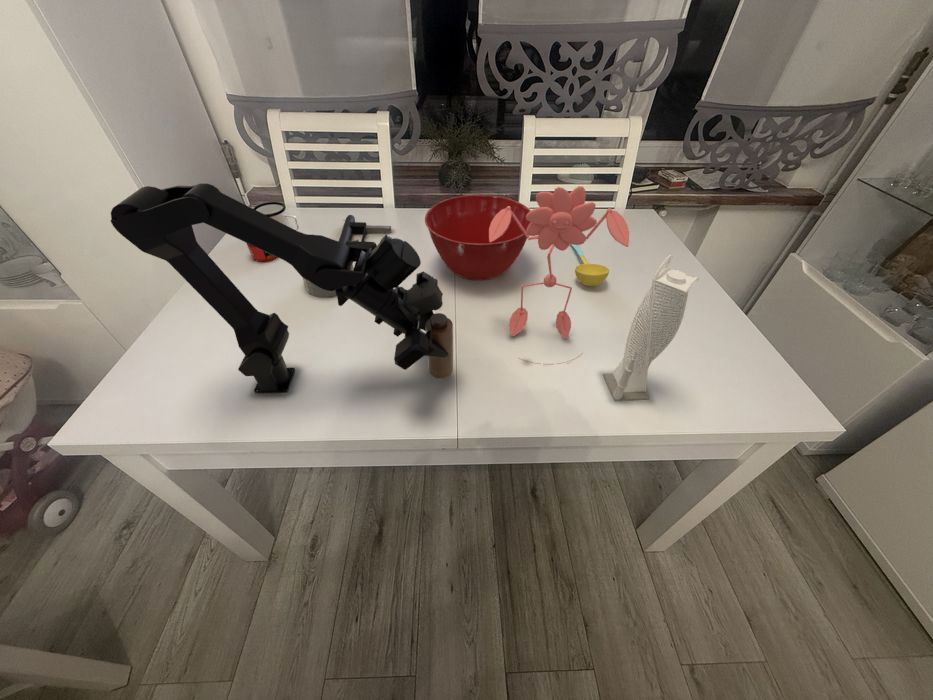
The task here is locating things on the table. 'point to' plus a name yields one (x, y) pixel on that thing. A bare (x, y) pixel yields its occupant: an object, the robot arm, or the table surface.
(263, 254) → the canned food
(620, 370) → the skyscraper
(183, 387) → the table surface
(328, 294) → the tin
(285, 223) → the mug
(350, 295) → the robot arm
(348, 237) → the door handle
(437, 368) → the pepper mill
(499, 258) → the mixing bowl
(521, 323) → the figurine
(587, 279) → the ladle
